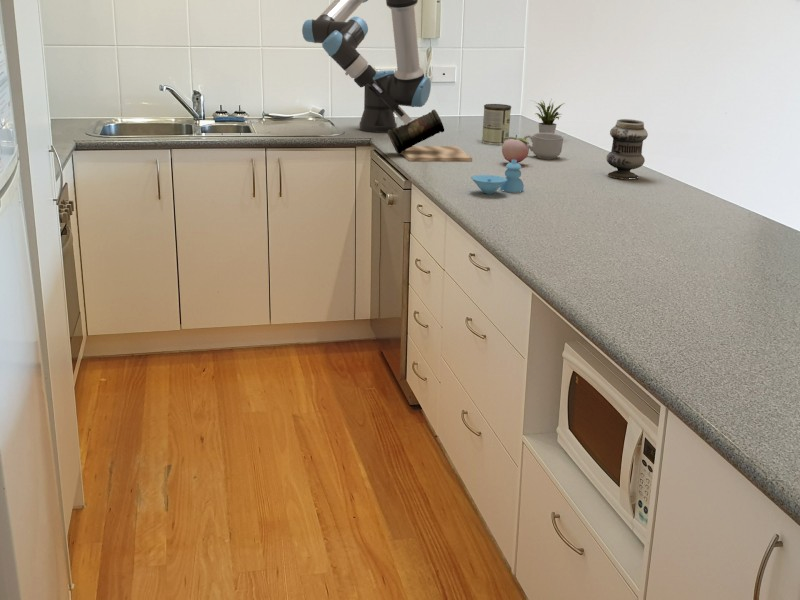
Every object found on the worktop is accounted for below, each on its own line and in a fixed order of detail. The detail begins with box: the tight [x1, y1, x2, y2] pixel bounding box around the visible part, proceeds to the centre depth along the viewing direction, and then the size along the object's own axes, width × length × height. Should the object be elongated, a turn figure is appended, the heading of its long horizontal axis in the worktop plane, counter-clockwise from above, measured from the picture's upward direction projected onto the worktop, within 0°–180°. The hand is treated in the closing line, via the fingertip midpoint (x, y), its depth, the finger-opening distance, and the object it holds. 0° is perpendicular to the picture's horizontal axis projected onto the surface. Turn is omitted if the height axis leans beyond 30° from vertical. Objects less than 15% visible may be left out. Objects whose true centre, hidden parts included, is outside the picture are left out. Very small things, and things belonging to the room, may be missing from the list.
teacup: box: [523, 132, 565, 160], centre depth 322 cm, size 14×11×8 cm
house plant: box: [530, 98, 566, 134], centre depth 357 cm, size 14×14×16 cm
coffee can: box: [481, 103, 512, 146], centre depth 346 cm, size 10×10×14 cm
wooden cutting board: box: [401, 145, 473, 162], centre depth 318 cm, size 22×22×1 cm
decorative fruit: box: [501, 134, 530, 164], centre depth 306 cm, size 9×8×10 cm
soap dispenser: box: [470, 160, 525, 195], centre depth 265 cm, size 18×10×9 cm, turn 127°
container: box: [386, 109, 445, 155], centre depth 314 cm, size 9×9×18 cm
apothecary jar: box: [605, 118, 649, 180], centre depth 292 cm, size 12×12×18 cm
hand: (408, 122), depth 312 cm, fingers closed
